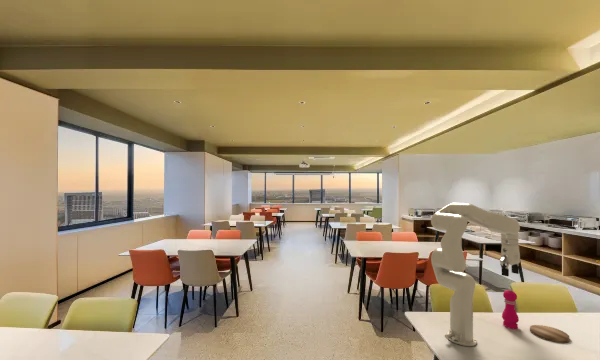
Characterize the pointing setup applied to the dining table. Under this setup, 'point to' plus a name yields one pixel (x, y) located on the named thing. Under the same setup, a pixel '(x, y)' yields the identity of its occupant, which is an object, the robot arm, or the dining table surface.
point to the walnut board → (549, 333)
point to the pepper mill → (510, 310)
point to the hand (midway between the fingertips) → (510, 274)
